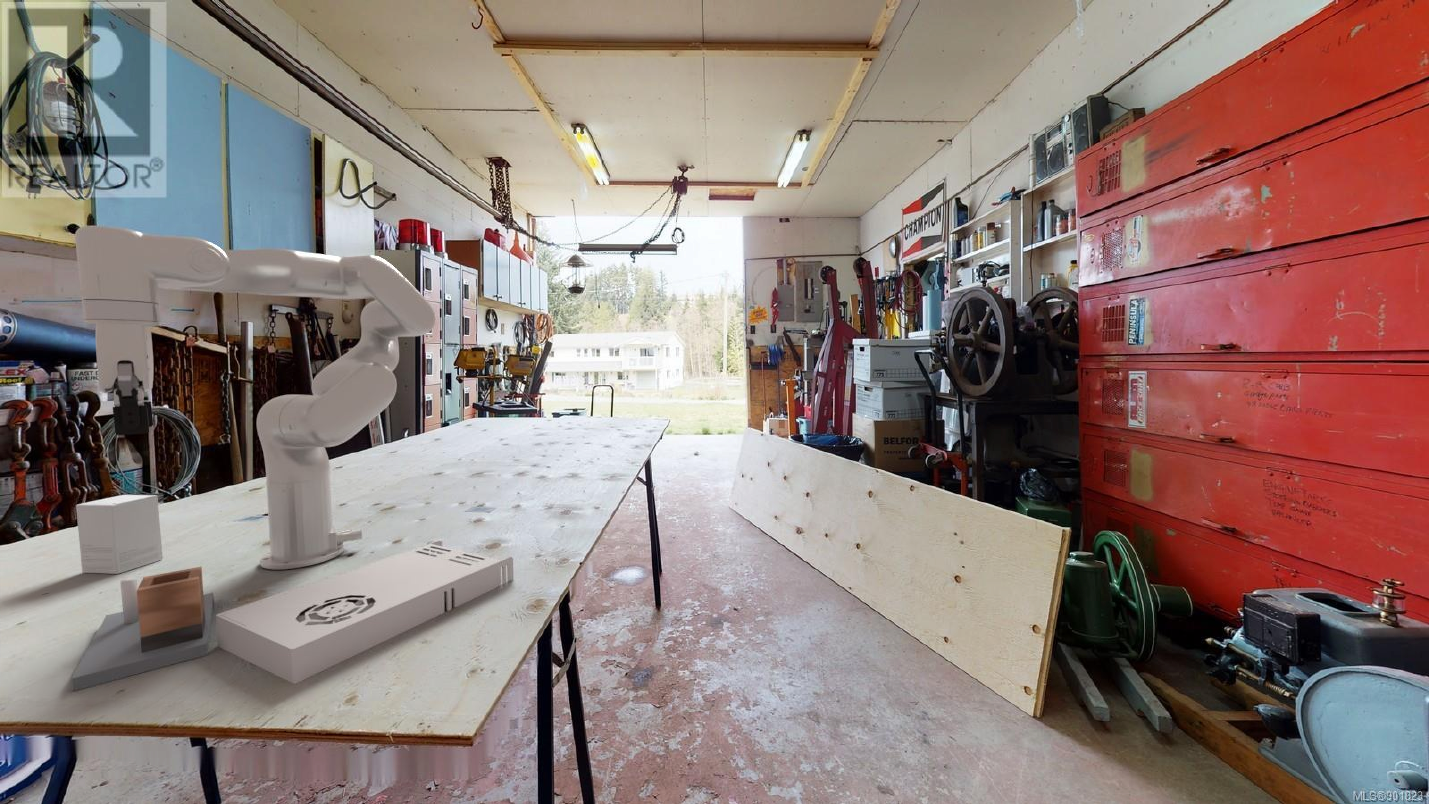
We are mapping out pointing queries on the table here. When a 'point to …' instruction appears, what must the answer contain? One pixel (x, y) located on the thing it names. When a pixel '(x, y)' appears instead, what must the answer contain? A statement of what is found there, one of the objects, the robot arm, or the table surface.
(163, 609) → the sleeve
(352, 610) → the power supply unit
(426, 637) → the table surface
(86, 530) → the supplement box
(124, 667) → the pin board
